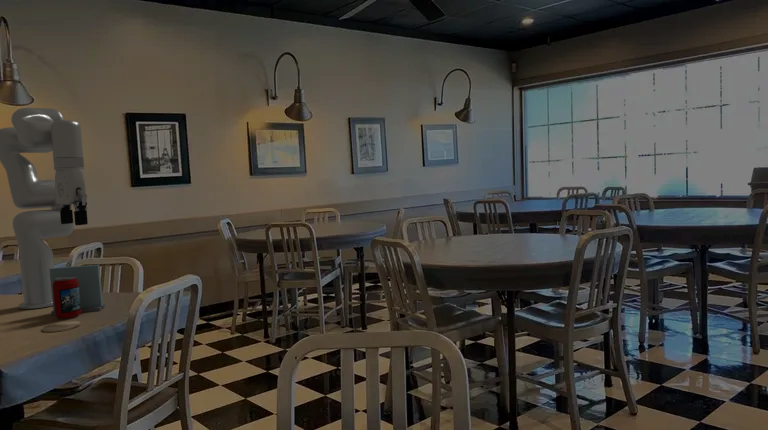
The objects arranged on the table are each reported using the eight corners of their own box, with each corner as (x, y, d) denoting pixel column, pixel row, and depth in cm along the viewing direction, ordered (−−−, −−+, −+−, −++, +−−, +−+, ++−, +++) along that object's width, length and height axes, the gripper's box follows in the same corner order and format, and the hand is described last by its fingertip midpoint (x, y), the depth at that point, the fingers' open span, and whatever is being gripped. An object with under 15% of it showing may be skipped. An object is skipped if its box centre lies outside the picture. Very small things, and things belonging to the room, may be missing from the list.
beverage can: (70, 320, 165) (66, 279, 164) (50, 320, 166) (46, 280, 165) (86, 314, 171) (82, 275, 171) (67, 314, 173) (63, 275, 172)
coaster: (51, 324, 160) (51, 322, 160) (85, 321, 162) (84, 319, 162) (37, 333, 151) (36, 331, 151) (72, 330, 153) (72, 328, 153)
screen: (58, 311, 178) (53, 267, 177) (105, 307, 180) (101, 263, 179) (51, 314, 173) (46, 269, 172) (99, 310, 175) (95, 266, 174)
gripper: (42, 165, 163) (48, 224, 165) (67, 163, 152) (72, 226, 154) (70, 165, 169) (75, 222, 170) (96, 163, 158) (101, 224, 159)
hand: (74, 224), depth 162 cm, fingers open, 9 cm apart
